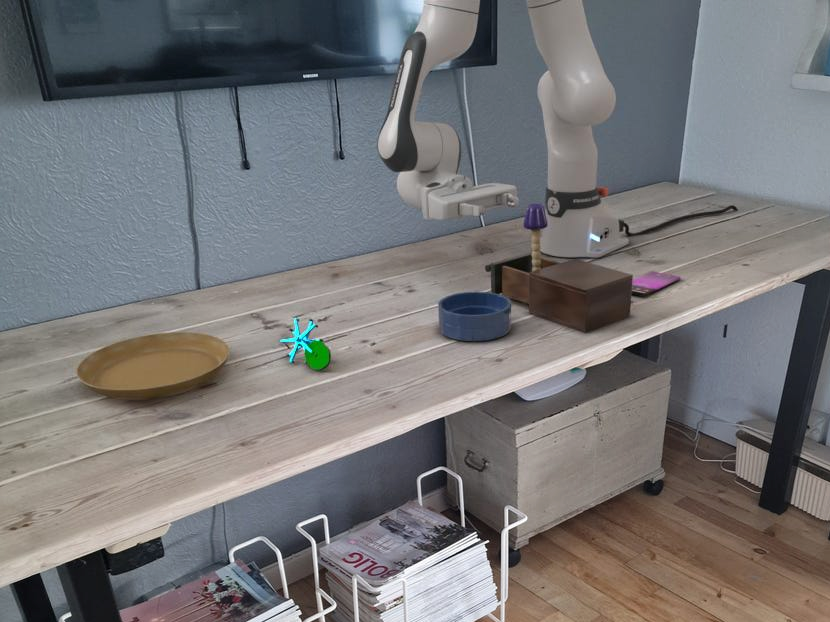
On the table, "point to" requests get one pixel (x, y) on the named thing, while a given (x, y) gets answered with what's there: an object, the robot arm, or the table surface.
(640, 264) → the table surface
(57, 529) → the table surface
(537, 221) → the toy lamp
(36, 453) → the table surface
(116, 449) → the table surface
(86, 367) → the plant saucer
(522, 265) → the drawer
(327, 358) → the stick construction toy
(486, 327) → the bowl
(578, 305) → the cabinet
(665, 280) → the smartphone
